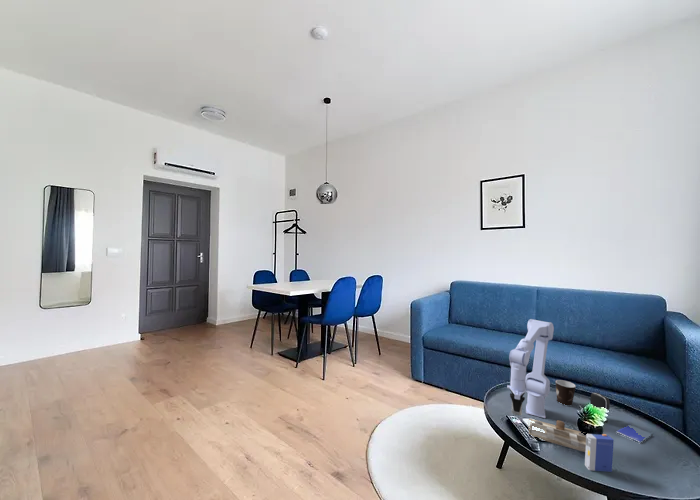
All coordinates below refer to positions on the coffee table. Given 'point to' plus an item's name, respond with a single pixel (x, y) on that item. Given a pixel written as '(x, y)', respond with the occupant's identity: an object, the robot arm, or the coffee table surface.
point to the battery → (599, 400)
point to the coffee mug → (565, 392)
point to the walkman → (599, 452)
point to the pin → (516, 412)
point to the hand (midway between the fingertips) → (516, 409)
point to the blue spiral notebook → (630, 433)
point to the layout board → (559, 434)
